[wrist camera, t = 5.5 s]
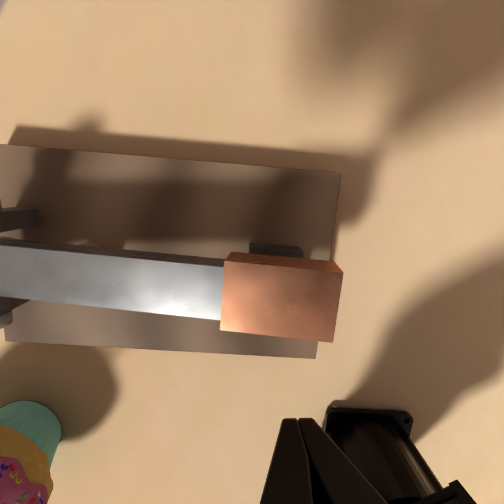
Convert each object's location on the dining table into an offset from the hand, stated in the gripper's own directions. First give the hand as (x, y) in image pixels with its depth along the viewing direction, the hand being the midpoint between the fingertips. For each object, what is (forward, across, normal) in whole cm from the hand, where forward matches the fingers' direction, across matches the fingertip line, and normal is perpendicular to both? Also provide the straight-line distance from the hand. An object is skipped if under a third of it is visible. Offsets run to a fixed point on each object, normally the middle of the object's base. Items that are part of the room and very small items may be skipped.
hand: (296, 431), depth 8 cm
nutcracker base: (+12, +6, -2) cm, 14 cm away
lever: (+8, +6, -2) cm, 10 cm away
